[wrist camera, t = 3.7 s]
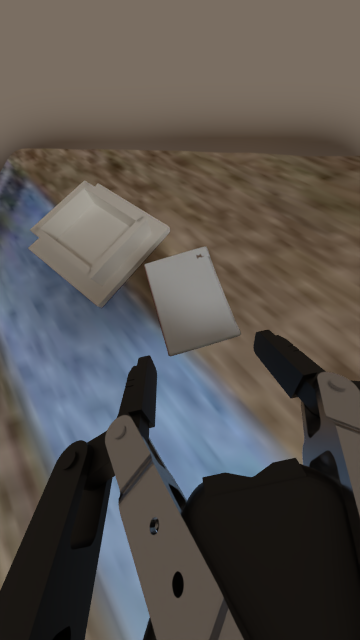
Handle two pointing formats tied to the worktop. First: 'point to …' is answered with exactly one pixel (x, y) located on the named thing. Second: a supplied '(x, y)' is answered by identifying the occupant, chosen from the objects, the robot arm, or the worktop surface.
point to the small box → (190, 301)
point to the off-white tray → (96, 240)
